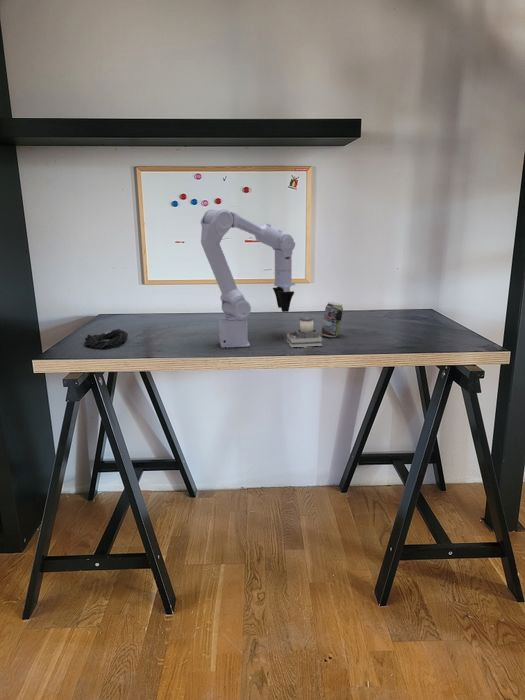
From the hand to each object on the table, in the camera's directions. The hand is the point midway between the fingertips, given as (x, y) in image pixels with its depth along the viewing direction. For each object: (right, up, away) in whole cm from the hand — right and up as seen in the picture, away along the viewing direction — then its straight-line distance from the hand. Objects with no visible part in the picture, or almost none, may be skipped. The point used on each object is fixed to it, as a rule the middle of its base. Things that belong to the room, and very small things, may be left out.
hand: (283, 309), depth 178 cm
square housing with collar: (+7, -12, -7) cm, 16 cm away
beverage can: (+17, -9, +3) cm, 20 cm away
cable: (-61, -12, -2) cm, 62 cm away
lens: (+7, -9, -8) cm, 14 cm away
